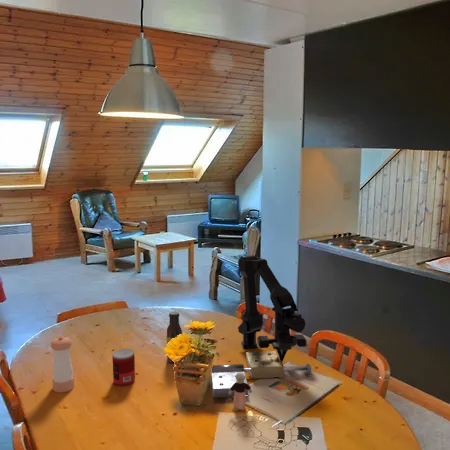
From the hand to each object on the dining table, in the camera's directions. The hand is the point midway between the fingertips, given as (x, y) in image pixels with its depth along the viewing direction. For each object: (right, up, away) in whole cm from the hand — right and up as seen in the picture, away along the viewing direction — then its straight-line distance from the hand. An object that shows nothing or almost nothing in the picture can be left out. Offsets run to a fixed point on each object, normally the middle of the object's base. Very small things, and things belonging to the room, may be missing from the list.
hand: (281, 361), depth 186 cm
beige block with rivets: (-7, -1, -4) cm, 8 cm away
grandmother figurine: (-17, -7, -32) cm, 37 cm away
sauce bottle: (-43, -1, +4) cm, 43 cm away
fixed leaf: (-8, -4, -15) cm, 18 cm away
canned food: (-59, -4, -13) cm, 61 cm away
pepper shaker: (-80, -4, -18) cm, 82 cm away
